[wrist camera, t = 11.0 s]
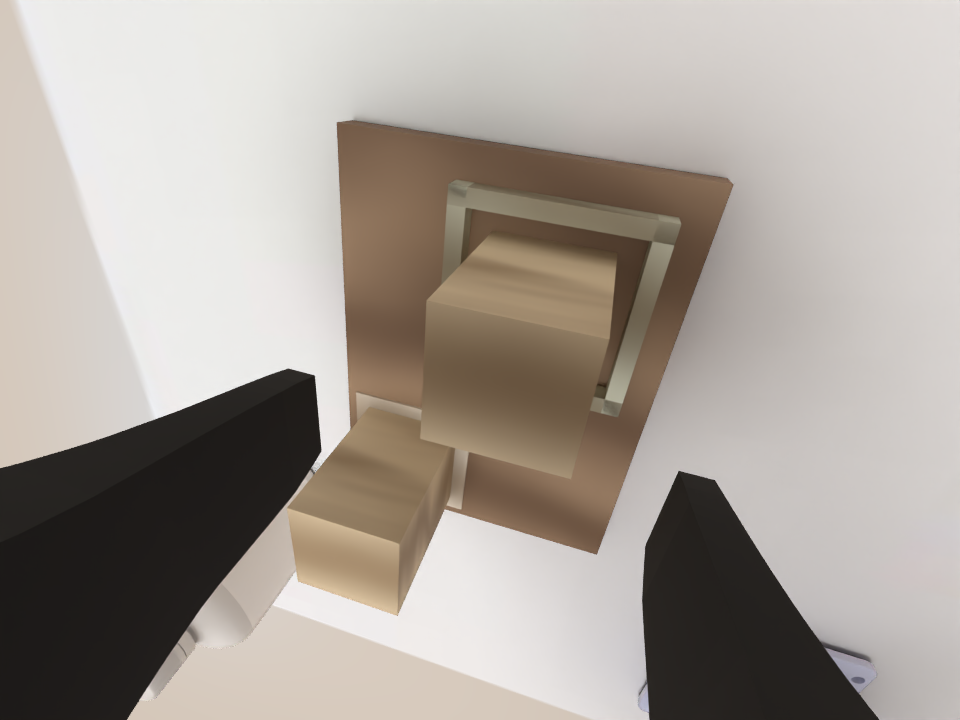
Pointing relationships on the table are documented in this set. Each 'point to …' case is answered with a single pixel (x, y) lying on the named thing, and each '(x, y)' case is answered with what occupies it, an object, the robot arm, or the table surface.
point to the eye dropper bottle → (237, 598)
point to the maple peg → (517, 350)
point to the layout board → (401, 339)
